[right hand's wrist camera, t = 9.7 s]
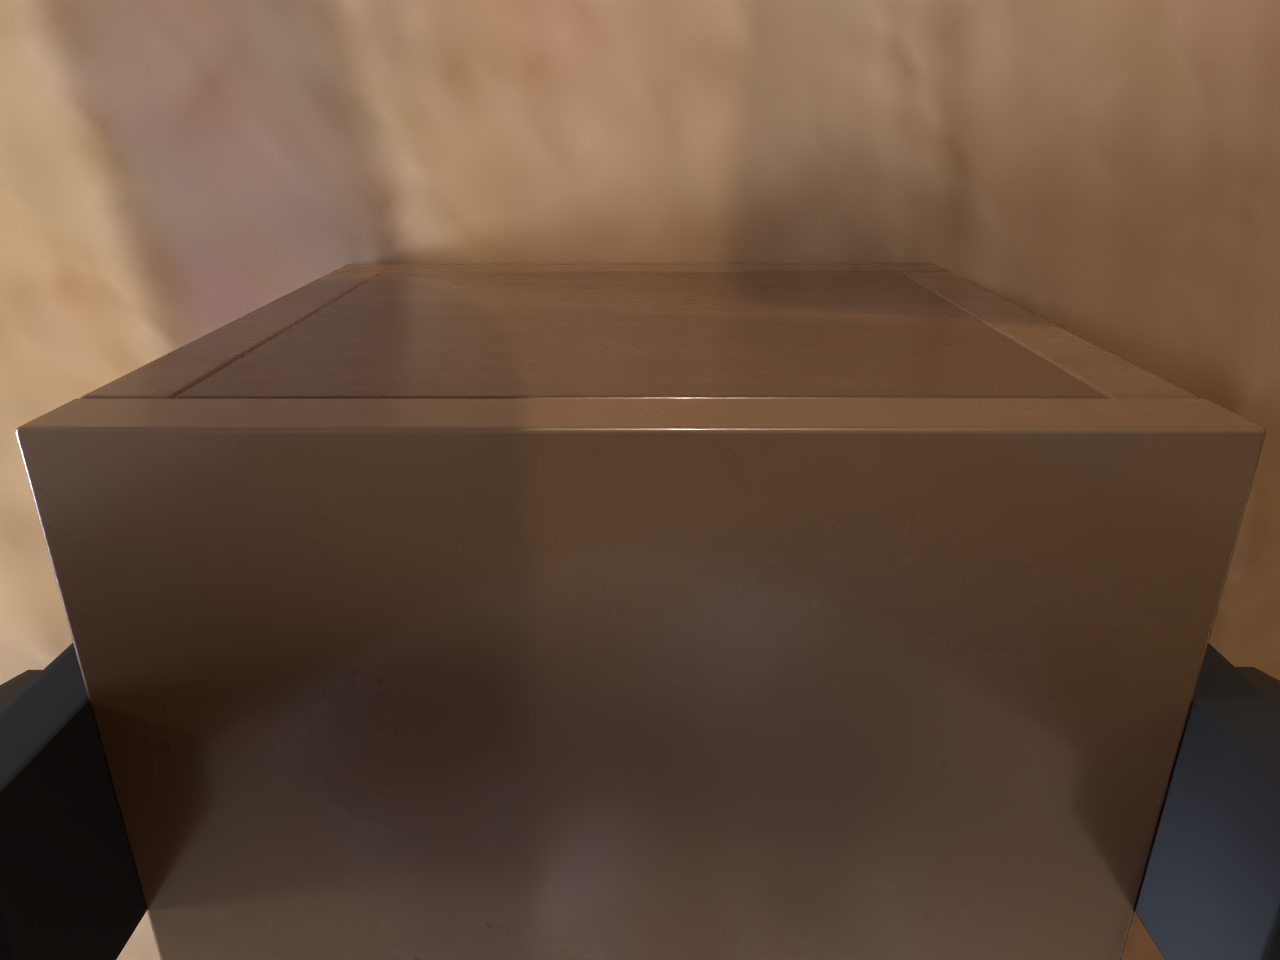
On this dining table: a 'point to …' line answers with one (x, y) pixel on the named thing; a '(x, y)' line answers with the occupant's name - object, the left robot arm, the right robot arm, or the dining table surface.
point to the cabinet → (640, 615)
